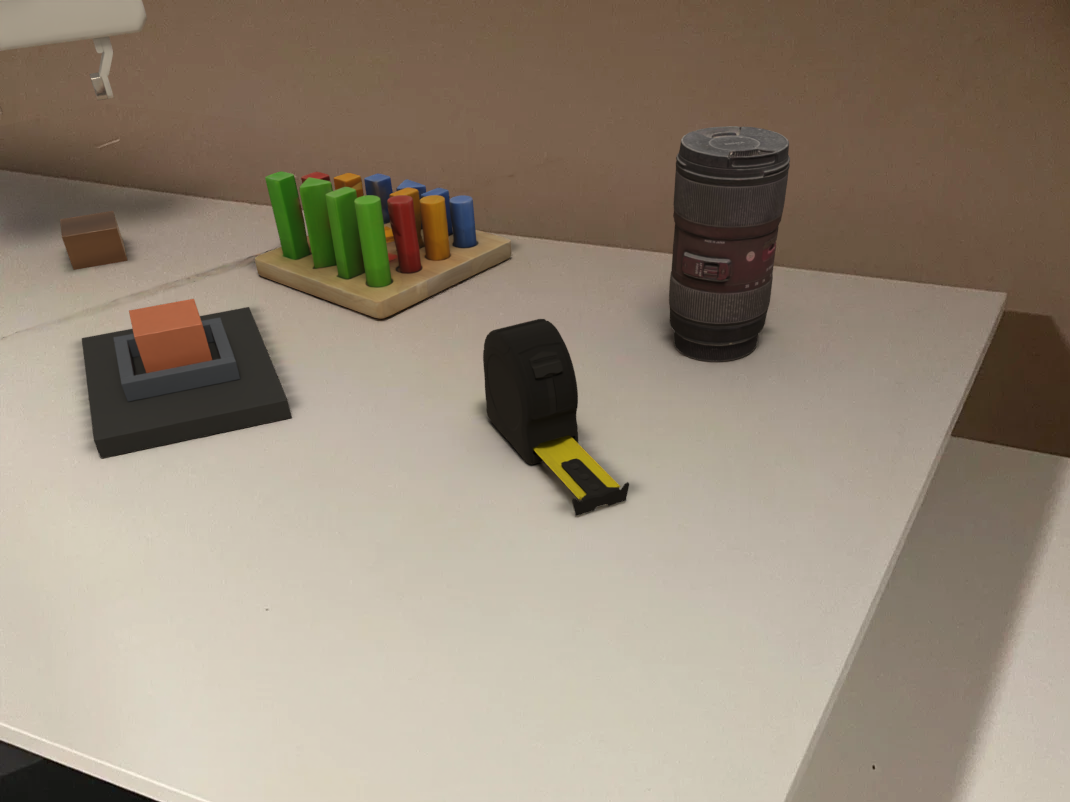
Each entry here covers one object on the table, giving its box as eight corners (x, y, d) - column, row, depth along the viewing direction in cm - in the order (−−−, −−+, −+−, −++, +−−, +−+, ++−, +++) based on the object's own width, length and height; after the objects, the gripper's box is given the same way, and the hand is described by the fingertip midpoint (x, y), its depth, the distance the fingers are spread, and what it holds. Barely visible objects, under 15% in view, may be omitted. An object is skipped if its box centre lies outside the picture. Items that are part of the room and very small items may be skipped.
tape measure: (485, 419, 75) (476, 313, 69) (538, 405, 76) (533, 299, 70) (573, 518, 65) (570, 405, 60) (631, 500, 67) (635, 387, 61)
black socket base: (291, 418, 76) (283, 380, 74) (101, 458, 73) (86, 421, 71) (253, 323, 88) (244, 289, 86) (87, 355, 85) (74, 320, 83)
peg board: (515, 257, 96) (509, 159, 90) (381, 323, 87) (365, 218, 81) (389, 219, 104) (376, 127, 98) (255, 275, 96) (232, 177, 89)
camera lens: (785, 354, 80) (814, 146, 70) (692, 374, 78) (708, 164, 68) (737, 314, 86) (757, 115, 75) (649, 332, 84) (658, 131, 73)
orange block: (216, 373, 78) (202, 323, 76) (150, 387, 77) (133, 336, 74) (207, 347, 82) (193, 298, 79) (144, 359, 81) (128, 310, 78)
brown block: (130, 270, 98) (116, 227, 95) (77, 280, 96) (61, 236, 94) (126, 252, 101) (113, 210, 98) (74, 261, 100) (59, 219, 97)
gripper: (114, -114, 83) (166, 80, 93) (-155, -86, 79) (-70, 114, 88) (119, -105, 79) (174, 97, 89) (-164, -75, 74) (-74, 133, 84)
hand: (50, 106), depth 88 cm, fingers open, 8 cm apart
